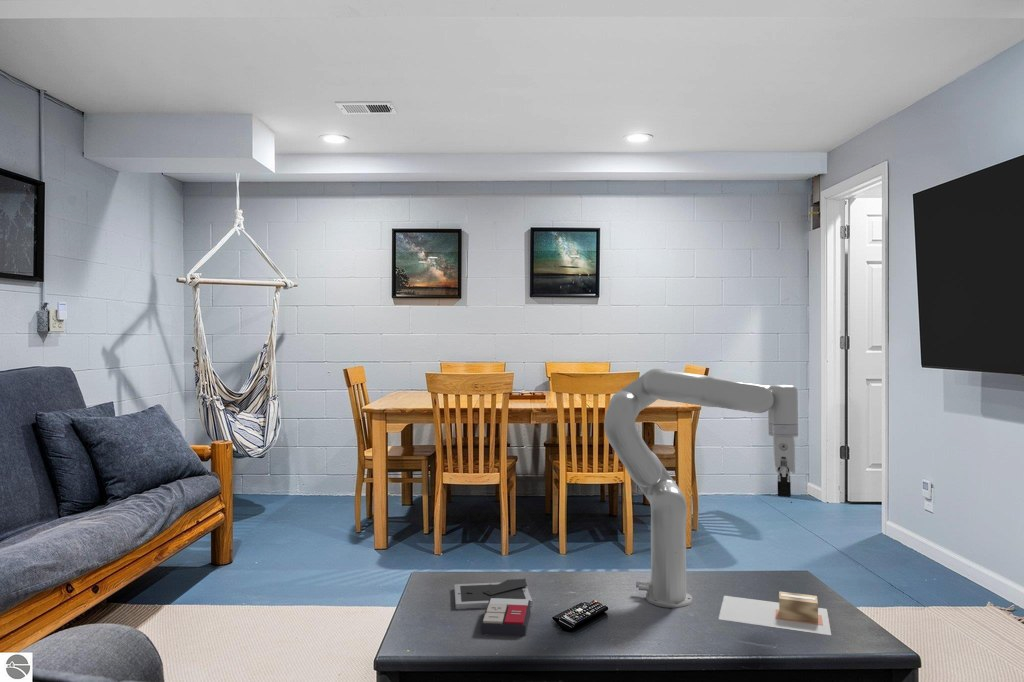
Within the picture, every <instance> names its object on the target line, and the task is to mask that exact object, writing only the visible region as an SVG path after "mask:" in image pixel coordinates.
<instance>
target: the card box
mask: <svg viewBox="0 0 1024 682" xmlns="http://www.w3.org/2000/svg"><path fill="white" fill-rule="evenodd" d="M778 597H779V598H778V603H779V618H782V619H789V620H796V621H804V622H811V623H818V608H819V603H818V601H819V599H818V596H817V595H812V594H803V593H796V592H795V593H794V592H786V591H779V592H778Z"/></svg>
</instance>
